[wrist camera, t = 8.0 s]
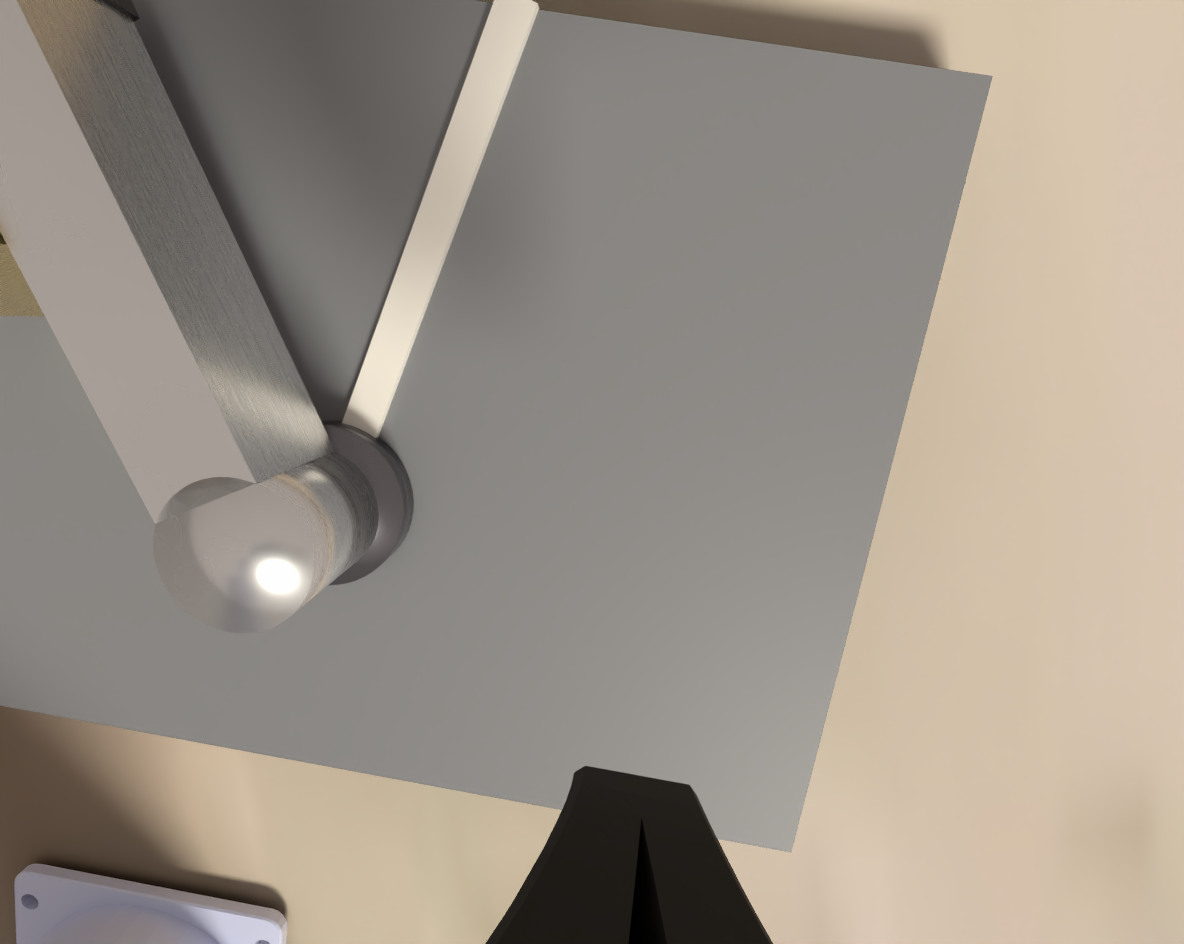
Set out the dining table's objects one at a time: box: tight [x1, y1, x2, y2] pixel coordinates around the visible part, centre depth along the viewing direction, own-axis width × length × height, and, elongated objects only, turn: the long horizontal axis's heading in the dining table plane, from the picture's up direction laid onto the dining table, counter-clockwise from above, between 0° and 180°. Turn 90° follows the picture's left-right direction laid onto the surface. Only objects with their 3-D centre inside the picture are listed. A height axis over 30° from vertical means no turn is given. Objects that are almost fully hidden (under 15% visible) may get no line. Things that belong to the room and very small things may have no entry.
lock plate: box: [0, 0, 992, 852], centre depth 16 cm, size 18×22×2 cm
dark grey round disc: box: [321, 420, 414, 585], centre depth 15 cm, size 4×4×1 cm
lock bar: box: [0, 0, 379, 634], centre depth 12 cm, size 12×3×3 cm, turn 22°
